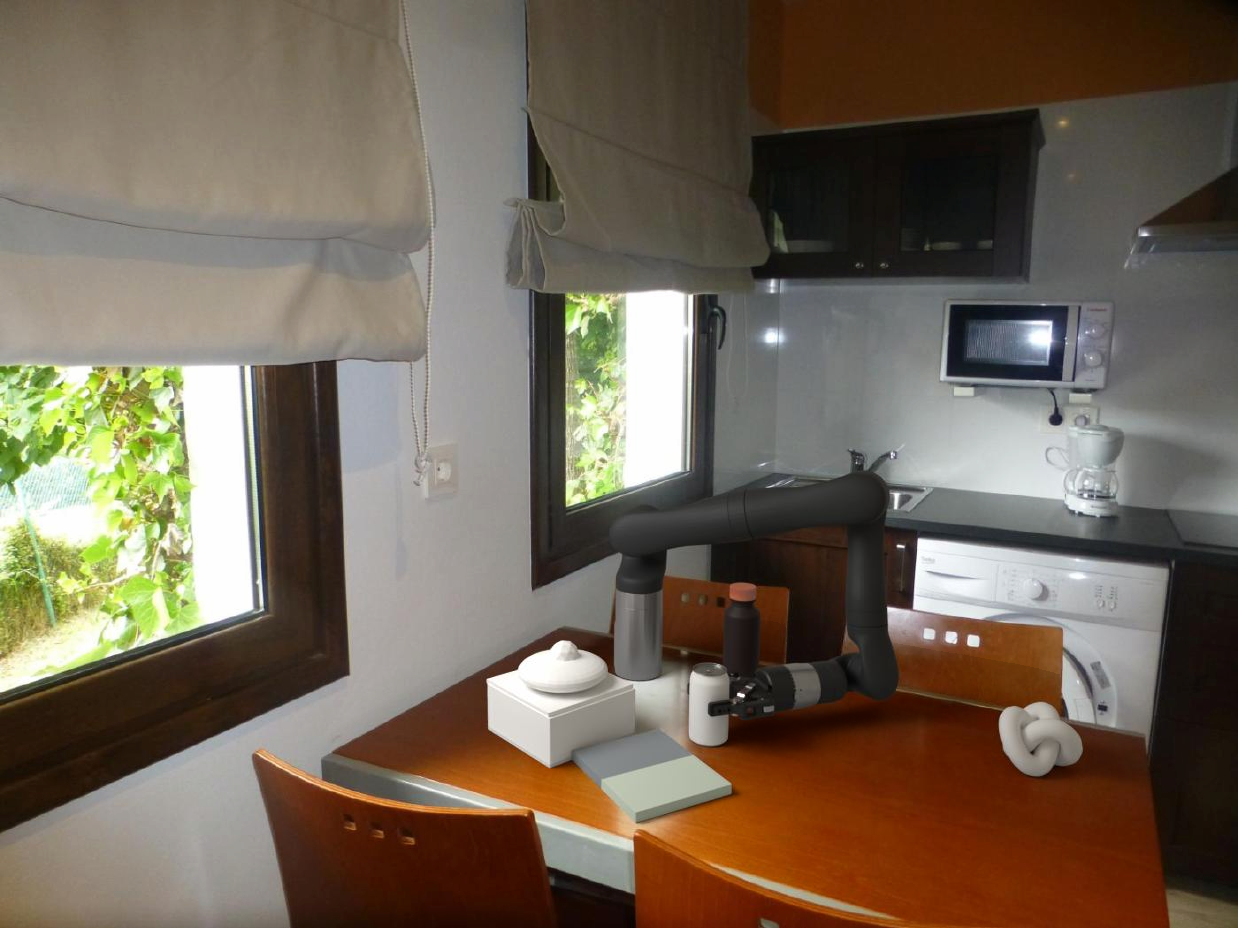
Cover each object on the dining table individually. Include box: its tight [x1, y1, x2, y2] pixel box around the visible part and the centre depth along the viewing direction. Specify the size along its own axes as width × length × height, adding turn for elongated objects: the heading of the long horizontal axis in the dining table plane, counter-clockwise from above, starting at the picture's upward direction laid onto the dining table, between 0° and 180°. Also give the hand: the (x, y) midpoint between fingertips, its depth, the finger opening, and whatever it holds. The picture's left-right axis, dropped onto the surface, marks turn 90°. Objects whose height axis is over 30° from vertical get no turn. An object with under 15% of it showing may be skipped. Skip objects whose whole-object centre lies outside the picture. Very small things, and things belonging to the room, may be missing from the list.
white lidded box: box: [486, 640, 636, 769], centre depth 141 cm, size 18×18×16 cm
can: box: [688, 662, 730, 748], centre depth 139 cm, size 6×6×12 cm
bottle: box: [722, 582, 762, 678], centre depth 159 cm, size 7×7×20 cm
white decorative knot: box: [998, 701, 1084, 777], centre depth 131 cm, size 11×12×9 cm
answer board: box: [571, 728, 733, 824], centre depth 127 cm, size 20×16×2 cm
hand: (698, 699), depth 138 cm, fingers open, 8 cm apart
